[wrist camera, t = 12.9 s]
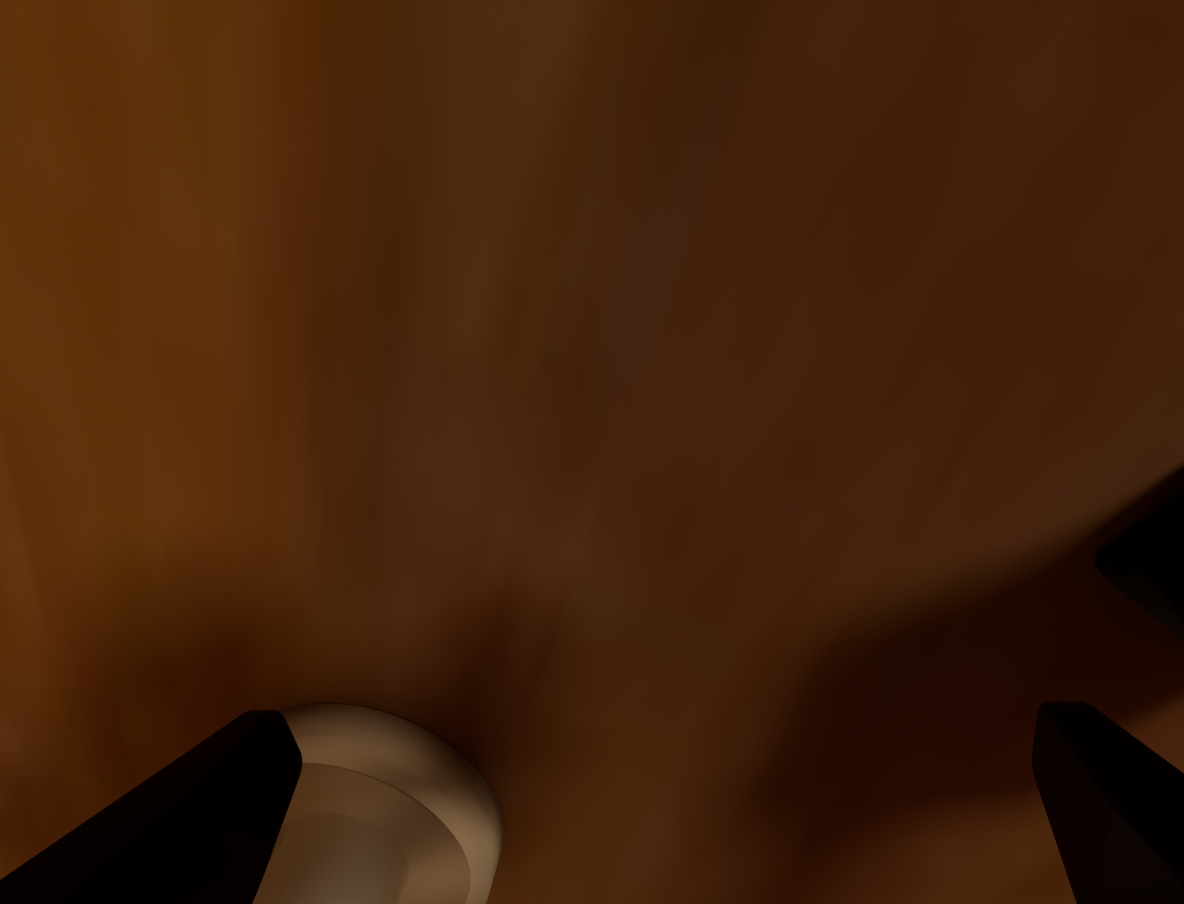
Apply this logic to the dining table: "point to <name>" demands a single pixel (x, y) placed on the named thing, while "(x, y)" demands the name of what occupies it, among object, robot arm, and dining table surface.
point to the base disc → (400, 797)
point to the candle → (334, 864)
